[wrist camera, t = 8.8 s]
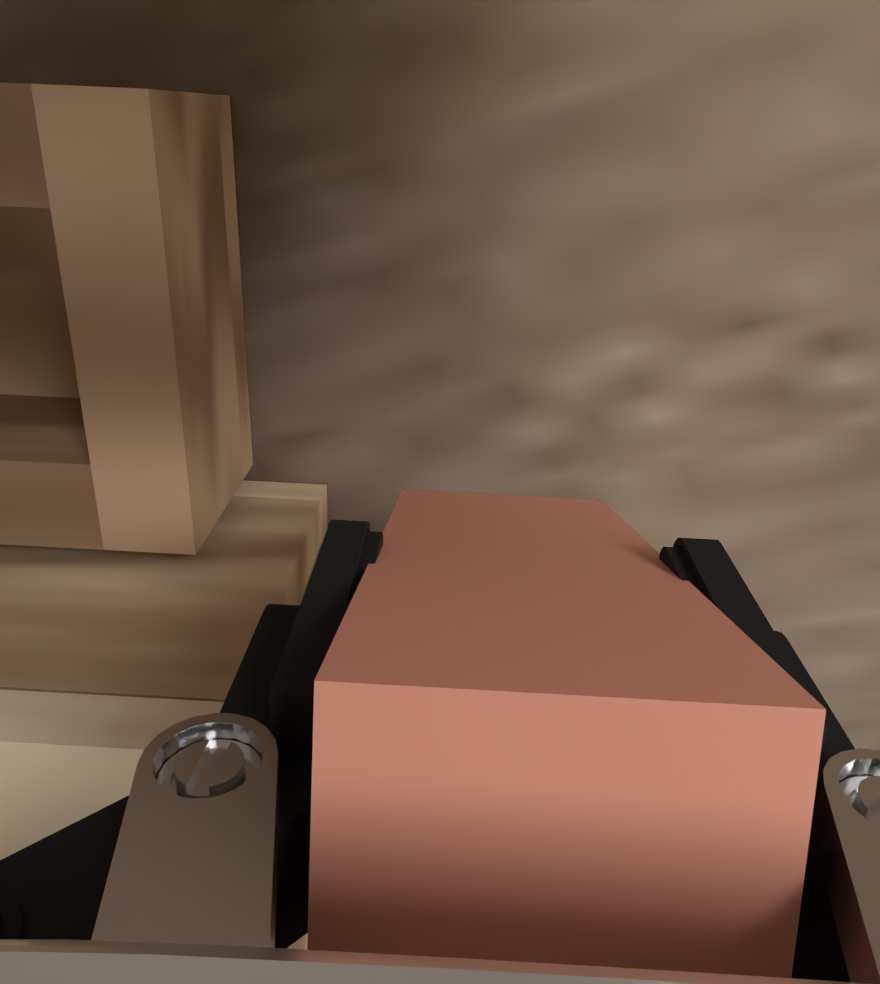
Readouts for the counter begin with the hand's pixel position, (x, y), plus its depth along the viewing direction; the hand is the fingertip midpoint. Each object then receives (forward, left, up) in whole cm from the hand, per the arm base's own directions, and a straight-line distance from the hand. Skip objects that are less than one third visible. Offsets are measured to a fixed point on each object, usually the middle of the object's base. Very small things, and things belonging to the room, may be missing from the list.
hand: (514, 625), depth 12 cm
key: (+2, 0, -4) cm, 5 cm away
